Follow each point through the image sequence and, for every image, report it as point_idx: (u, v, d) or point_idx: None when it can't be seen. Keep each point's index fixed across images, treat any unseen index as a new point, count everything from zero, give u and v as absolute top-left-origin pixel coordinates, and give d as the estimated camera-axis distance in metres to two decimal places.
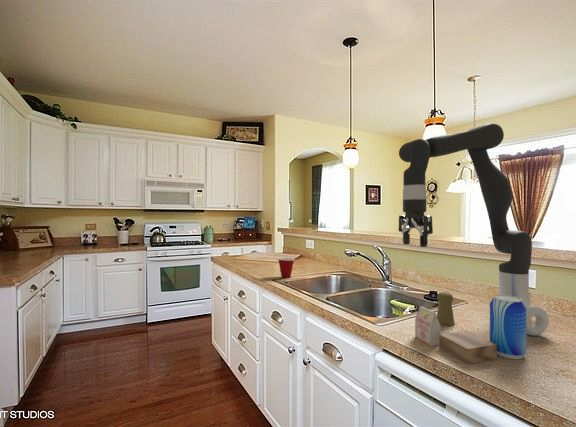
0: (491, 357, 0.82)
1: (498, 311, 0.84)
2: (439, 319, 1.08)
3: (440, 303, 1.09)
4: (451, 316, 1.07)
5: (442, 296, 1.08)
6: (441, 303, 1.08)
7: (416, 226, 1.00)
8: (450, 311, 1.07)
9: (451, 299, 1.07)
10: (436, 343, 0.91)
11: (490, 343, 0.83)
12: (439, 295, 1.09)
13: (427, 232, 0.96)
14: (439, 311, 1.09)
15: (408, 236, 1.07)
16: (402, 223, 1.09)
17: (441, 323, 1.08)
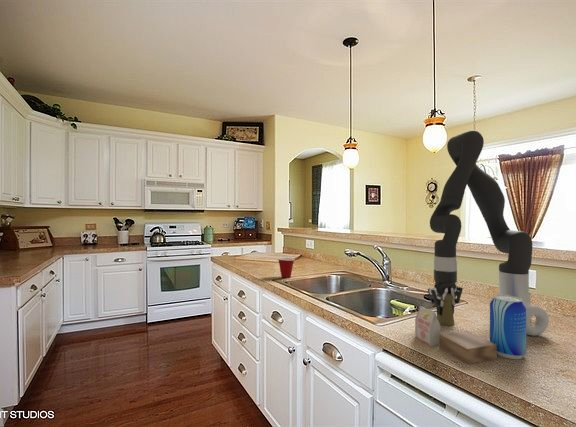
0: (491, 357, 0.82)
1: (498, 311, 0.84)
2: (439, 319, 1.08)
3: None
4: (451, 316, 1.07)
5: None
6: None
7: (453, 296, 1.08)
8: (450, 311, 1.07)
9: (451, 299, 1.07)
10: (436, 343, 0.91)
11: (490, 343, 0.83)
12: (439, 295, 1.09)
13: None
14: None
15: None
16: None
17: (441, 323, 1.08)
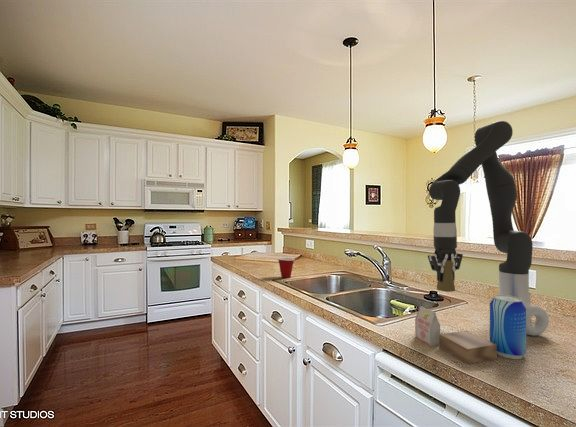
0: (491, 357, 0.82)
1: (498, 311, 0.84)
2: (440, 285, 1.08)
3: None
4: (451, 282, 1.07)
5: None
6: None
7: (453, 262, 1.08)
8: (450, 277, 1.07)
9: (451, 265, 1.07)
10: (436, 343, 0.91)
11: (490, 343, 0.83)
12: (439, 262, 1.09)
13: None
14: None
15: None
16: None
17: (442, 289, 1.07)
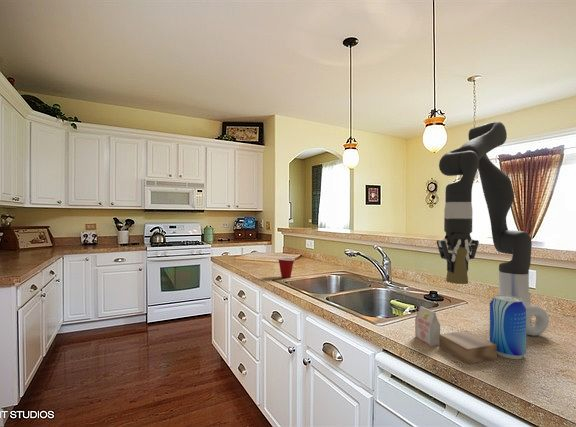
0: (491, 357, 0.82)
1: (498, 311, 0.84)
2: (450, 277, 0.91)
3: None
4: (464, 273, 0.89)
5: (453, 249, 0.90)
6: None
7: (467, 250, 0.91)
8: (463, 267, 0.90)
9: (465, 252, 0.90)
10: (436, 343, 0.91)
11: (490, 343, 0.83)
12: (450, 248, 0.91)
13: None
14: None
15: None
16: None
17: (452, 281, 0.90)
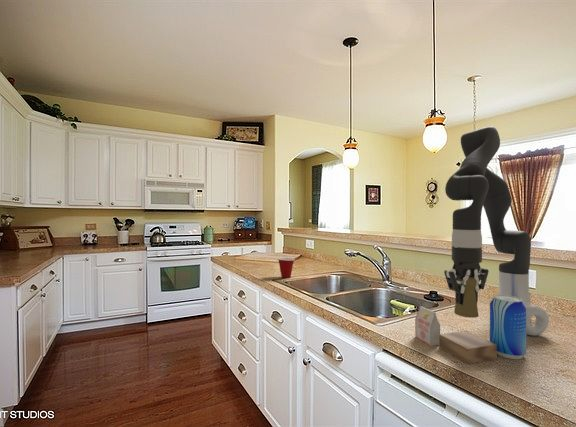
0: (491, 357, 0.82)
1: (498, 311, 0.84)
2: (459, 309, 0.85)
3: None
4: (474, 305, 0.84)
5: (462, 280, 0.84)
6: None
7: (477, 280, 0.85)
8: (473, 299, 0.84)
9: (474, 283, 0.84)
10: (436, 343, 0.91)
11: (490, 343, 0.83)
12: (459, 279, 0.86)
13: None
14: None
15: None
16: None
17: (461, 314, 0.84)
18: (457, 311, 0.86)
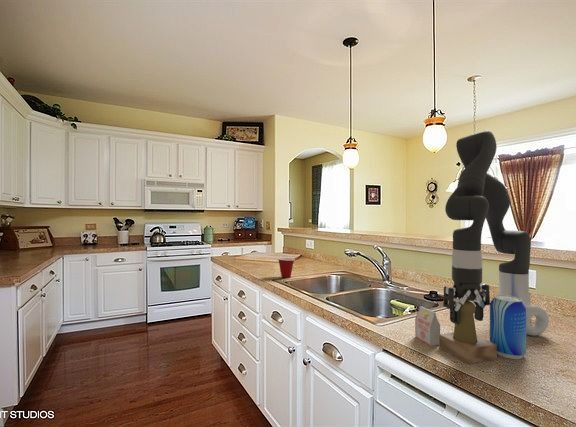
0: (491, 357, 0.82)
1: (498, 311, 0.84)
2: (457, 335, 0.85)
3: (459, 314, 0.85)
4: (473, 331, 0.84)
5: (461, 306, 0.84)
6: (460, 314, 0.85)
7: (480, 298, 0.85)
8: (472, 325, 0.84)
9: (473, 309, 0.84)
10: (436, 343, 0.91)
11: (490, 343, 0.83)
12: None
13: None
14: (457, 324, 0.85)
15: None
16: None
17: (460, 340, 0.84)
18: (456, 336, 0.85)
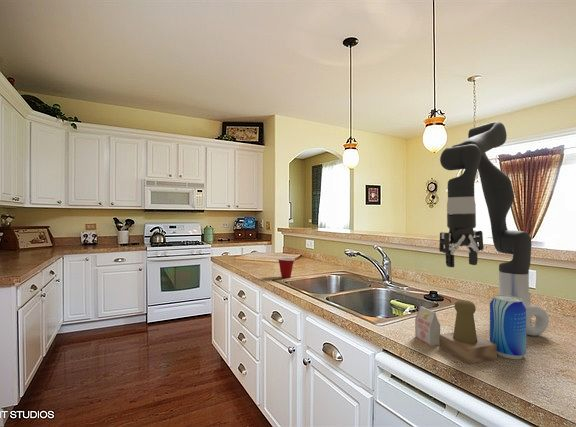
0: (491, 357, 0.82)
1: (498, 311, 0.84)
2: (457, 335, 0.85)
3: (459, 314, 0.85)
4: (473, 331, 0.84)
5: (461, 306, 0.84)
6: (460, 314, 0.85)
7: (474, 243, 0.90)
8: (472, 325, 0.84)
9: (473, 309, 0.84)
10: (436, 343, 0.91)
11: (490, 343, 0.83)
12: (457, 304, 0.85)
13: None
14: (457, 324, 0.85)
15: None
16: None
17: (460, 340, 0.84)
18: (456, 336, 0.85)
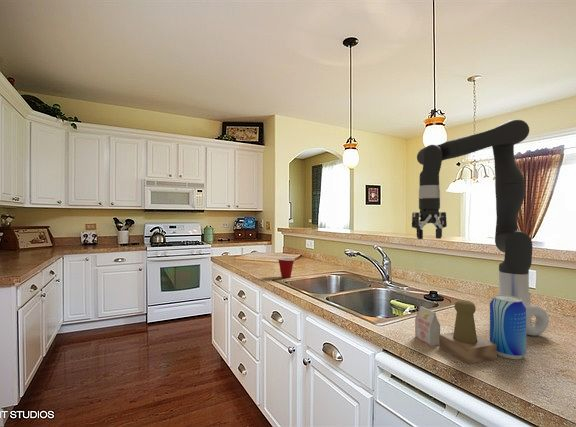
0: (491, 357, 0.82)
1: (498, 311, 0.84)
2: (457, 335, 0.85)
3: (459, 314, 0.85)
4: (473, 331, 0.84)
5: (461, 306, 0.84)
6: (460, 314, 0.85)
7: (438, 221, 1.16)
8: (472, 325, 0.84)
9: (473, 309, 0.84)
10: (436, 343, 0.91)
11: (490, 343, 0.83)
12: (457, 304, 0.85)
13: None
14: (457, 324, 0.85)
15: None
16: None
17: (460, 340, 0.84)
18: (456, 336, 0.85)
